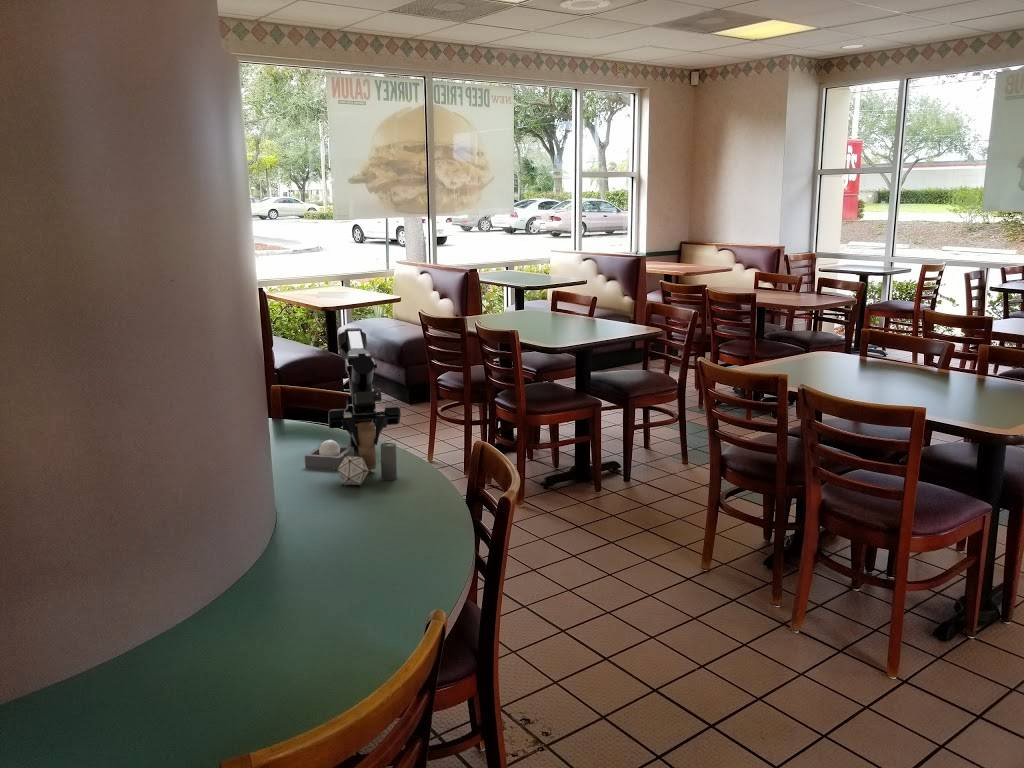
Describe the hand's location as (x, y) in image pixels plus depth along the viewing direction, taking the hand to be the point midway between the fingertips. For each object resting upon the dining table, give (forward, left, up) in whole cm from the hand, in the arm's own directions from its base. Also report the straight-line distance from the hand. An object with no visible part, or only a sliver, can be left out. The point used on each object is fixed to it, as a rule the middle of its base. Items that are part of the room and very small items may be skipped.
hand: (367, 445), depth 217 cm
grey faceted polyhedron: (+9, -1, -8) cm, 12 cm away
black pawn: (+2, +6, -8) cm, 10 cm away
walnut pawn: (-1, -1, -7) cm, 7 cm away
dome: (-7, -14, -8) cm, 17 cm away
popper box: (-7, -14, -8) cm, 17 cm away
